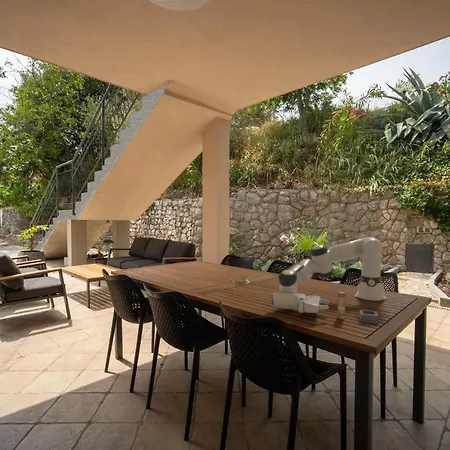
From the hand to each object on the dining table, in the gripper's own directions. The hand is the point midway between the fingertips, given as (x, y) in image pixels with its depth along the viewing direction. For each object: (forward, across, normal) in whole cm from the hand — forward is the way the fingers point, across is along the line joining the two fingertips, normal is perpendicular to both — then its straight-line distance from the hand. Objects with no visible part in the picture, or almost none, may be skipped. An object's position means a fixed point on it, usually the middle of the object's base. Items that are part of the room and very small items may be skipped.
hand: (328, 304), depth 167 cm
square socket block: (+19, -1, -6) cm, 20 cm away
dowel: (+6, -1, -6) cm, 9 cm away
